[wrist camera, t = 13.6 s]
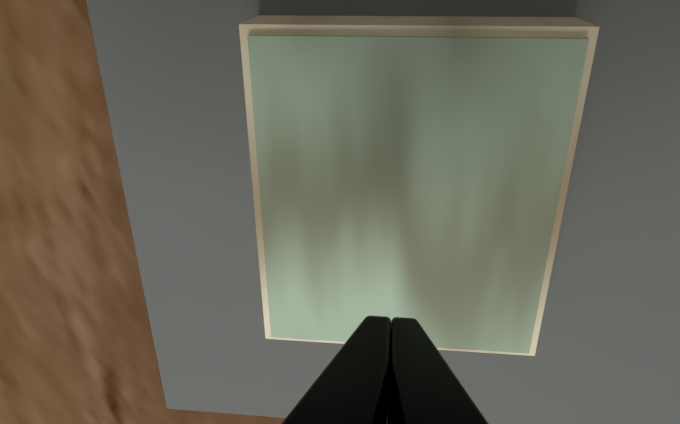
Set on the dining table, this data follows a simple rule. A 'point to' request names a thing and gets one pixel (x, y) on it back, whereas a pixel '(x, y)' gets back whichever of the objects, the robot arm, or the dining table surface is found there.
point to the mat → (469, 367)
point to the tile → (412, 170)
